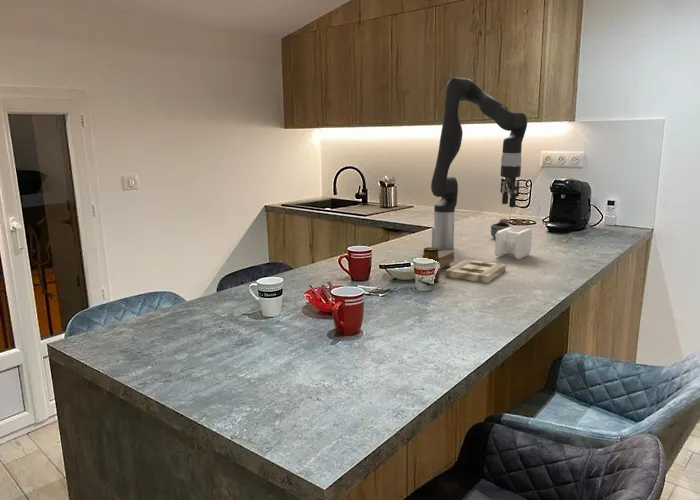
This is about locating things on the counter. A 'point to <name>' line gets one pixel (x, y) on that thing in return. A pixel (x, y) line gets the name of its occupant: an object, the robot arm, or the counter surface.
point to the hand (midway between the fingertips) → (508, 205)
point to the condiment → (433, 254)
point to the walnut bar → (446, 258)
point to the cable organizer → (513, 242)
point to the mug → (499, 226)
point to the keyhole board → (475, 271)
